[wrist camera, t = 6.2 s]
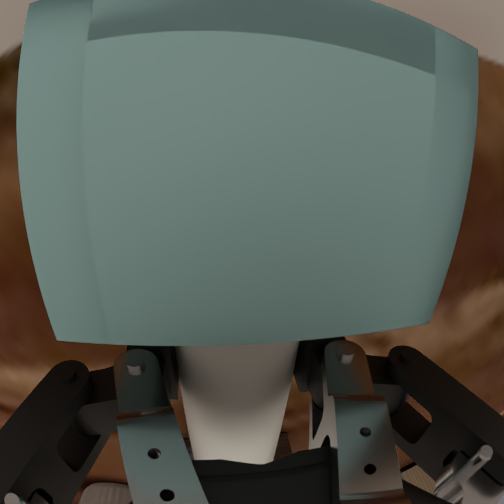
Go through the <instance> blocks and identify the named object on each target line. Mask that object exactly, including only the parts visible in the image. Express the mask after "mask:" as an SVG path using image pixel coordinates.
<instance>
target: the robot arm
mask: <svg viewBox="0 0 504 504" xmlns="http://www.w3.org/2000/svg"><path fill="white" fill-rule="evenodd" d="M293 374H294V377H295V380H296V383H297V386H298V389H299V391H300V392H306V391H310V393H311V396H312V397H311V400H310V404H309V450H303V451H298V452H296V453H293V454H291V455H288V456H285V457H283V458H280V459H277V460H275V461H272V462H269V463H266V464H251V463H243V462H236V461H229V460H223V459H216V460H191V459H190V456H189V454H188V451H187V448H186V445H185V443H184V440H183V437H182V434H181V431H180V428H179V425H178V422H177V419H176V416H175V413H174V410H173V408H172V407H171V404H170V399H178V385H179V374H178V367H177V360H176V352H175V346H142V345H128V346H127V350H126V351H125V352H123V353H122V354H120V355H119V356H118V357H117V358H116V359H115V361H114V365H113V366H112V367H109V368H106V369H101V370H95V371H90V372H89V370H88V368H87V367H86V366H85V365H84V364H83V363H81V362H79V361H75V360H69V361H64V362H61V363H59V364H57V365H56V366H54V367H53V368H52V369H51V370H50V371H49V373H48V374H47V375H46V376H45V377H44V378H43V379H42V381H41V382H40V383H39V384H38V385H37V386H36V387H35V389H34V390H33V391H32V392H31V393H30V394H29V396H28V397H27V398H26V399H25V400H24V401H23V403H22V404H21V405H20V406H19V407H18V409H17V410H16V411H15V412H14V414H13V415H12V416H11V417H10V418H9V420H8V421H7V422H6V423H5V425H4V426H3V427H2V428H1V430H0V504H71V502H72V501H73V499H74V497H75V495H76V494H77V492H78V490H79V488H80V487H81V485H82V483H83V481H84V480H85V478H86V476H87V474H88V473H89V471H90V469H91V468H92V466H93V464H94V462H95V461H96V459H97V457H98V456H99V454H100V452H101V450H102V449H103V447H104V445H105V444H106V442H107V440H108V439H109V437H110V435H111V433H112V432H117V431H118V436H119V441H120V447H121V452H122V458H123V462H124V467H125V472H126V476H127V481H128V485H129V489H130V493H131V497H132V501H131V502H130V503H129V504H497V503H498V502H499V500H500V499H501V497H502V496H503V494H504V417H502V416H501V415H500V414H499V413H497V412H496V411H495V410H494V409H492V408H491V407H490V406H489V405H487V404H486V403H485V402H484V401H482V400H481V399H480V398H479V397H477V396H476V395H475V394H474V393H472V392H471V391H470V390H468V389H467V388H466V387H465V386H463V385H462V384H461V383H459V382H458V381H457V380H456V379H454V378H453V377H452V376H451V375H449V374H448V373H447V372H445V371H444V370H443V369H441V368H440V367H439V366H438V365H436V364H435V363H434V362H432V361H431V360H430V359H428V358H427V357H426V356H425V355H423V354H422V353H421V352H419V351H418V350H416V349H414V348H412V347H409V346H396V347H394V348H392V349H391V350H390V352H389V354H388V357H380V356H370V355H366V354H365V351H364V350H363V349H362V347H360V346H359V345H358V344H356V343H354V342H351V341H347V340H346V339H345V337H344V336H341V337H333V338H323V339H313V340H303V341H299V346H298V352H297V357H296V362H295V367H294V372H293ZM409 396H411V397H413V398H414V399H415V400H416V401H417V402H418V403H419V404H421V405H422V406H423V407H424V408H425V409H426V410H427V411H429V413H430V414H431V416H432V423H430V422H429V421H428V420H426V419H425V418H424V417H423V416H422V415H421V414H420V413H419V412H417V411H416V410H415V409H414V408H413V407H412V406H411V405H410V404H408V403H407V402H406V401H407V399H408V398H409ZM396 445H397V446H398V447H399V448H401V449H402V450H403V451H404V452H405V453H406V454H407V455H408V456H409V457H410V458H411V459H412V460H413V461H414V462H415V463H416V464H417V465H418V466H419V467H420V468H421V469H422V470H423V471H424V472H425V473H427V474H428V475H429V476H430V477H431V478H432V479H433V480H434V481H435V486H436V489H435V490H434V495H433V494H431V493H429V492H427V491H425V490H423V489H421V488H419V487H417V486H415V485H413V484H411V483H409V482H407V481H405V480H403V479H402V478H401V472H400V466H399V460H398V455H397V450H396Z"/></svg>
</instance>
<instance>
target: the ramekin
mask: <svg viewBox="0 0 504 504" xmlns="http://www.w3.org/2000/svg"><path fill="white" fill-rule="evenodd" d="M131 501H132V497H131V493H130V489H129V485H124V484H117V483H94V484H91V485H90V486H88V487H87V488H86V489H85V490H84V491H83V494H82V496H81V500H80V503H79V504H129V503H130V502H131Z"/></svg>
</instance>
